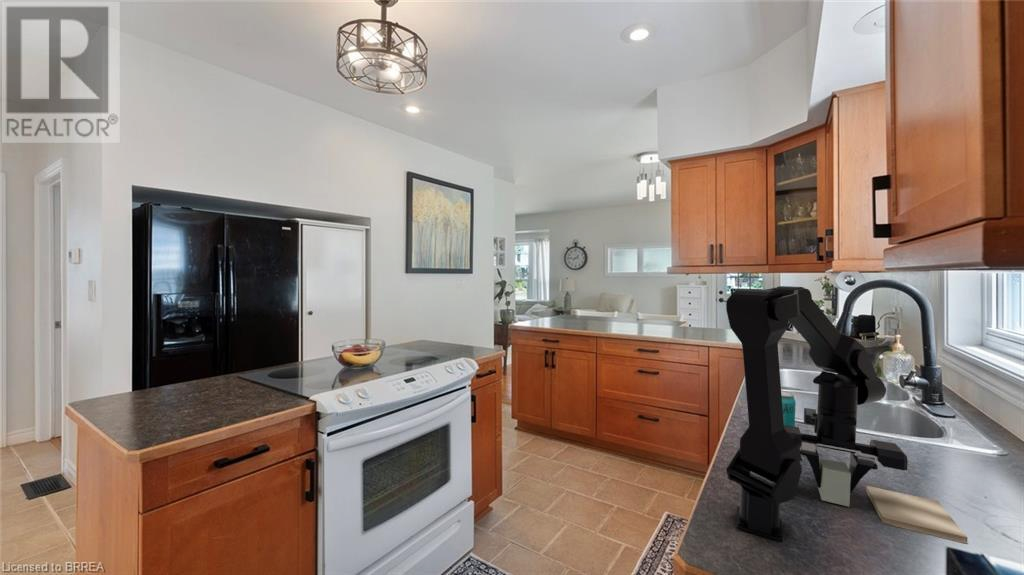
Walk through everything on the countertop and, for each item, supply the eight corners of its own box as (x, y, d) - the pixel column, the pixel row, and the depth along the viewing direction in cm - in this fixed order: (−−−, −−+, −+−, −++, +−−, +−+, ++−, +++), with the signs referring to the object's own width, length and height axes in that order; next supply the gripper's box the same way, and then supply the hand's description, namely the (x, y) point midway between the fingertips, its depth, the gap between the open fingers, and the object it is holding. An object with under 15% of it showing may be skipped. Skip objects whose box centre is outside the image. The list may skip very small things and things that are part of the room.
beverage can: (757, 454, 95) (759, 390, 94) (774, 450, 97) (776, 388, 96) (782, 465, 89) (785, 397, 89) (799, 460, 92) (801, 394, 91)
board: (967, 543, 64) (967, 537, 64) (882, 522, 69) (882, 517, 69) (937, 506, 74) (938, 501, 74) (865, 490, 79) (866, 485, 79)
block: (849, 506, 73) (850, 473, 73) (821, 500, 75) (822, 468, 75) (844, 493, 77) (845, 462, 77) (818, 487, 79) (819, 457, 79)
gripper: (891, 404, 78) (887, 484, 78) (775, 389, 87) (772, 460, 88) (910, 422, 68) (906, 514, 69) (777, 403, 78) (774, 483, 78)
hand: (833, 489), depth 76 cm, fingers closed on block, 4 cm apart
